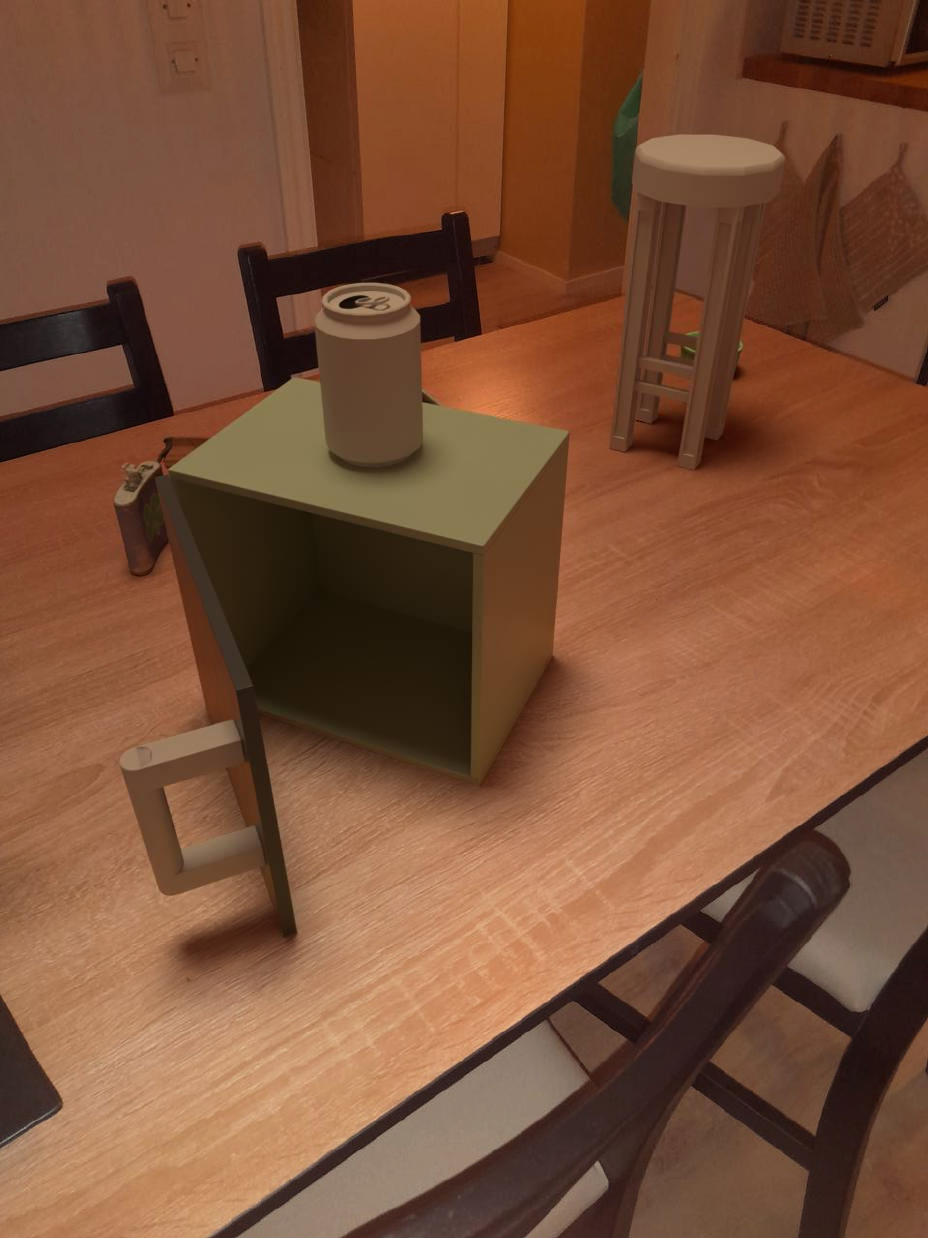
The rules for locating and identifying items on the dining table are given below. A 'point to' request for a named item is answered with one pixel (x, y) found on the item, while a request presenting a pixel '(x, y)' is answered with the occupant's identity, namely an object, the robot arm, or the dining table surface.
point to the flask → (141, 516)
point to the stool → (678, 178)
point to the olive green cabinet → (385, 574)
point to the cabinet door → (209, 748)
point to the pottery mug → (179, 448)
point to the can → (370, 374)
